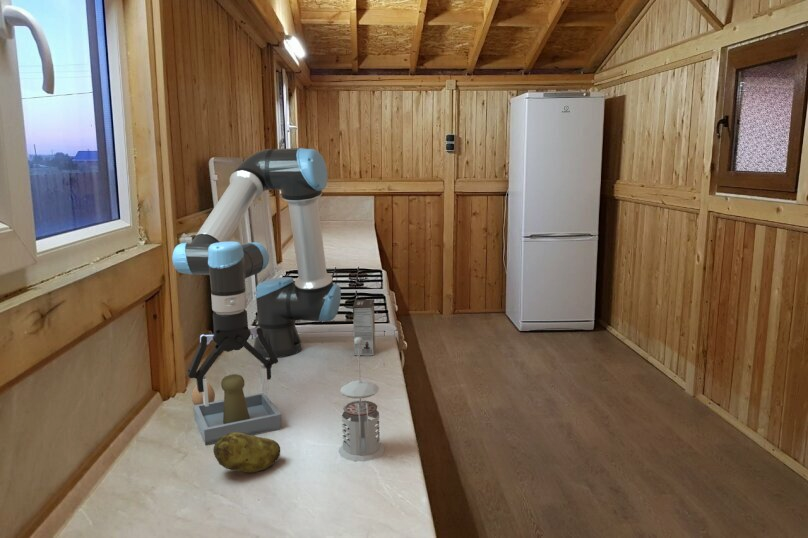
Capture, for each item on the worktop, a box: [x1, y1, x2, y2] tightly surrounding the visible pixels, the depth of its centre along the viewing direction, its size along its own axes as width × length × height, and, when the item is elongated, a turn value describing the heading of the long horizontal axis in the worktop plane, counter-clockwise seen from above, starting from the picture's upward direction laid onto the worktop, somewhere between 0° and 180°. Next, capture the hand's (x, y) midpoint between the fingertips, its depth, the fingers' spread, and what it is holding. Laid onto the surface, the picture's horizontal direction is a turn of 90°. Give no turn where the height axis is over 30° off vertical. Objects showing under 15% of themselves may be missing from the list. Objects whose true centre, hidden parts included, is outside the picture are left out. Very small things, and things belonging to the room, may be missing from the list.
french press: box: [338, 337, 385, 462], centre depth 128 cm, size 10×12×25 cm
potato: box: [213, 433, 281, 473], centre depth 123 cm, size 8×13×8 cm, turn 104°
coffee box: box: [352, 299, 376, 356], centre depth 194 cm, size 9×6×16 cm
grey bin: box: [193, 392, 283, 446], centre depth 144 cm, size 17×15×4 cm
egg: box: [191, 382, 216, 406], centre depth 153 cm, size 5×5×7 cm
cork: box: [220, 373, 250, 424], centre depth 143 cm, size 6×6×11 cm
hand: (236, 398), depth 144 cm, fingers open, 13 cm apart
